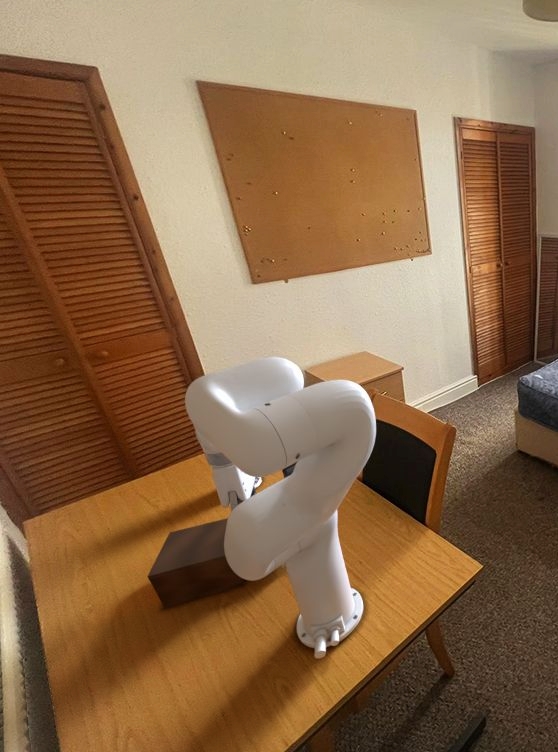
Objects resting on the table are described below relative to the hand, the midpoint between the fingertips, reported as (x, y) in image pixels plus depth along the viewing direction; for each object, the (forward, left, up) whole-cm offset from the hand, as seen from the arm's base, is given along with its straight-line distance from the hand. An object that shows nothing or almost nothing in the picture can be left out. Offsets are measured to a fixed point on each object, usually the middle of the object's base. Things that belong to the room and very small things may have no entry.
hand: (250, 516), depth 92 cm
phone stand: (+20, -7, -13) cm, 25 cm away
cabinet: (0, +11, -13) cm, 17 cm away
